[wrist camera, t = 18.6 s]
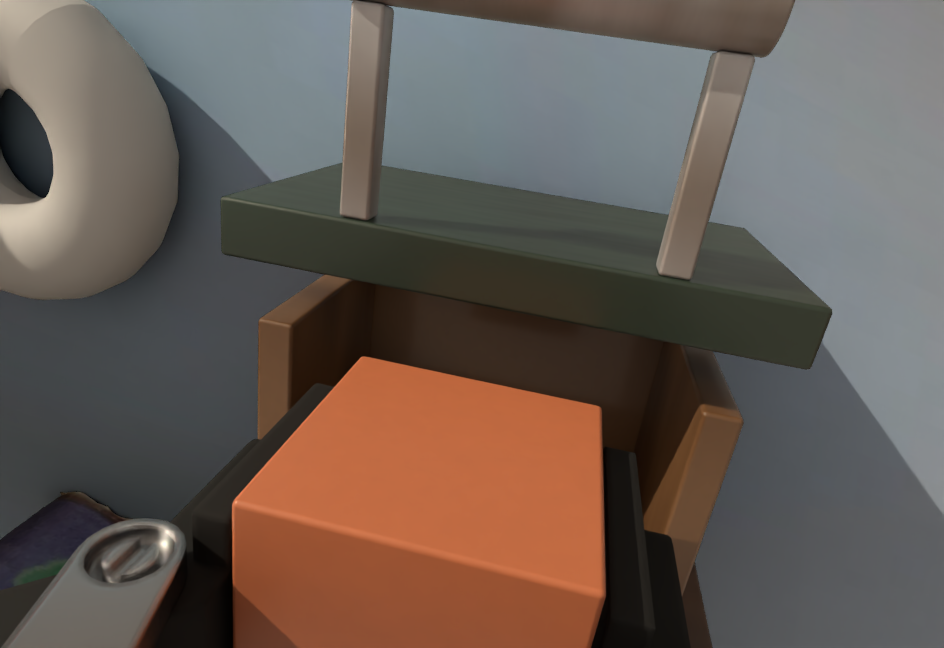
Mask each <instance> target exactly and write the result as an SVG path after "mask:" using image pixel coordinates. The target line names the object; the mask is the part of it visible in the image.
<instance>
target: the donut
mask: <svg viewBox="0 0 944 648" xmlns="http://www.w3.org/2000/svg"><path fill="white" fill-rule="evenodd" d="M7 89H12V90H13V91H15V92H16V93H18V95H19V96H20V97H21V98H22V99H23V100H24V101H25V102H26V103H27V104H28V105H29V106H30V107H31V108H32V109H33V110H34V112H35V114H36V116H37V117H38V119H39V121H40V122H41V124H42V126H43V128H44V129H45V131H46V134H47V137H48V140H49V143H50V147H51V150H52V153H53V171H54V176H53V179H52V183H51V187H50V191H49V193H48V195H47V196H46V197H45V198H41V197H39V196H37V195H35V194H34V193H32V192H31V191H29V190H27V189H26V188H25V187H24V186H23V184H22V183H21V182H20V181H19V180H18V179H17V178H16V177H15V176H14V174H13V173H12V171H11V169H10V168H9V166H8V165H7V163H6V161H5V160H4V157H3V154H2V151H1V148H0V290H3V291H6V292H9V293H12V294H16V295H19V296H22V297H26V298H31V299H37V300H53V299H79V298H85V297H90V296H93V295H95V294H97V293H100V292H102V291H104V290H106V289H108V288H111V287H113V286H115V285H117V284H120V283H122V282H124V281H126V280H127V279H129V278H130V277H132V276H133V275H135V274H136V273H137V271H138V270H139V269H140V268H141V267H142V266H143V265H144V264H145V263H146V262H147V260H148V259H149V258H150V257H151V256H152V255H153V254H154V253H155V252H156V250H157V249H158V248H159V247H160V246H161V243H162V241H163V239H164V236H165V233H166V231H167V228H168V225H169V223H170V220H171V217H172V215H173V212H174V209H175V206H176V204H177V201H178V172H179V153H178V149H177V145H176V141H175V137H174V133H173V128H172V124H171V120H170V116H169V112H168V108H167V105H166V103H165V101H164V99H163V97H162V95H161V94H160V92H159V90H158V88H157V86H156V84H155V82H154V80H153V78H152V76H151V74H150V73H149V71H148V69H147V67H146V65H145V63H144V61H143V59H142V58H141V57H140V55H139V54H138V53H137V52H136V51H135V50H134V49H133V48H132V47H131V45H130V44H129V43H128V42H127V41H126V40H125V39H124V38H123V37H122V35H121V34H120V33H119V32H118V31H117V30H116V29H115V28H114V26H113V25H112V24H111V23H110V22H109V21H108V20H107V19H106V18H105V17H104V15H103V14H102V13H101V12H100V11H99V10H98V9H96V8H95V7H93V6H92V5H90V4H89V3H87V2H85V1H84V0H0V98H1V96H2V95H3V93H4V92H5V90H7Z"/></svg>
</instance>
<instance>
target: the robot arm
mask: <svg viewBox="0 0 944 648" xmlns="http://www.w3.org/2000/svg"><path fill="white" fill-rule="evenodd" d="M333 388H334V387H333V386H328V385H324V384H319V383H316V384H314V385H313V386H312V387H311V388H310V389H309V390H308V391H307V392H306V393H305V394H304V395H303V396H302V398H301V399H300V400H299V401H298V402H297V403H296V404H295V405H294V406H293V407H292V408H291V409H290V410H289V411H288V412H287V413H286V414H285V415H284V416H283V417H282V418H281V419H280V420H279V421H278V422H277V423H276V424H275V425H274V426H273V428H272V429H271V430H270V431H269V432H268V433H267V434H266V435H265V436H264V437H263V438H262V439H261V440H260V439H255V440H252V441H251V442H250V443H248V444H247V445H246V446H245V447H244V448H243V449H242V450H241V451H240V452H239V453H238V454H237V455H236V456H235V457H234V458H233V459H232V460H231V461H230V462H229V463H228V464H227V465H226V466H225V467H224V468H223V469H222V470H221V471H220V472H219V473H218V474H217V475H216V476H215V477H214V478H213V479H212V480H211V481H210V482H209V483H208V484H207V485H206V486H205V487H204V488H203V489H202V490H201V491H200V492H199V493H198V494H197V495H196V496H195V497H194V499H193V500H192V501H191V502H190V503H189V504H188V505H187V506H186V507H185V508H184V509H183V510H182V511H181V512H180V513H179V514H178V515H177V516H176V517H175V518H174V519H173V520H172V521H171V522H168V521H165V520H160V519H154V518H136V519H131V520H126V521H122V522H118V523H115V524H113V525H110V526H108V527H105V528H103V529H101V530H99V531H98V532H96V533H94V534H93V535H91V536H90V537H88V538H87V539H86V540H85V541H84V542H83V543H82V544H81V545H80V546H79V547H78V548H77V549H76V550H75V552H74V553H73V554H72V555H71V557H70V558H69V559H68V561H67V562H66V563H65V565H64V566H63V567H62V569H61V570H60V571H59V572H58V574H57V575H53V576H50V577H46V578H42V579H39V580H35V581H32V582H28V583H25V584H21V585H17V586H14V587H10V588H7V589H3V590H0V648H233V565H232V504H233V501H234V500H235V498H236V497H237V496H238V495H239V494H240V493H241V492H242V490H243V489H244V488H245V487H246V486H247V485H248V484H249V483H250V481H251V480H252V479H253V478H254V477H255V476H256V475H257V474H258V472H259V471H260V470H261V469H262V468H263V467H264V466H265V465H266V463H267V462H268V461H269V460H270V459H271V458H272V457H273V456H274V454H275V453H276V452H277V451H278V450H279V449H280V448H281V447H282V445H283V444H284V443H285V442H286V441H287V440H288V439H289V438H290V436H291V435H292V434H293V433H294V432H295V431H296V430H297V428H298V427H299V426H300V425H301V424H302V423H303V422H304V421H305V419H306V418H307V417H308V416H309V415H310V414H311V413H312V412H313V410H314V409H315V408H316V407H317V406H318V405H319V404H320V403H321V401H322V400H323V399H324V398H325V397H326V396H327V395H328V394H329V392H330V391H331V390H332V389H333ZM603 482H604V526H605V571H606V598H605V601H604V605H603V608H602V612H601V615H600V618H599V622H598V625H597V629H596V632H595V636H594V639H593V642H592V646H591V648H691V646H690V640H689V634H688V629H687V623H686V617H685V611H684V605H683V600H682V594H681V588H680V582H679V576H678V571H677V565H676V559H675V553H674V547H673V543H672V539H671V537H670V536H669V535H665V534H661V533H656V532H652V531H648V530H644V522H643V514H642V505H641V496H640V487H639V478H638V469H637V460H636V454H635V453H632V452H628V451H623V450H619V449H614V448H610V447H604V449H603Z"/></svg>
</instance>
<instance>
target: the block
mask: <svg viewBox="0 0 944 648" xmlns="http://www.w3.org/2000/svg"><path fill="white" fill-rule="evenodd" d="M232 565H233V648H591V646H592V642H593V639H594V636H595V632H596V629H597V625H598V622H599V618H600V615H601V612H602V608H603V605H604V601H605V598H606V571H605V526H604V482H603V438H602V410H601V407H599V406H596V405H591V404H587V403H582V402H577V401H572V400H568V399H563V398H558V397H554V396H549V395H544V394H539V393H535V392H530V391H525V390H521V389H516V388H511V387H507V386H502V385H497V384H492V383H488V382H483V381H478V380H474V379H469V378H464V377H459V376H455V375H450V374H445V373H441V372H436V371H431V370H427V369H422V368H417V367H412V366H408V365H403V364H398V363H394V362H389V361H384V360H379V359H375V358H370V357H365V356H364V357H361V358H360V359H359V360H358V361H357V362H356V363H355V364H354V365H353V367H352V368H351V369H350V370H349V371H348V372H347V373H346V374H345V376H344V377H343V378H342V379H341V380H340V381H339V382H338V383H337V385H336V386H335V387H334V388H333V389H332V390H331V391H330V392H329V394H328V395H327V396H326V397H325V398H324V399H323V400H322V401H321V403H320V404H319V405H318V406H317V407H316V408H315V409H314V410H313V412H312V413H311V414H310V415H309V416H308V417H307V418H306V419H305V421H304V422H303V423H302V424H301V425H300V426H299V427H298V428H297V430H296V431H295V432H294V433H293V434H292V435H291V436H290V438H289V439H288V440H287V441H286V442H285V443H284V444H283V445H282V447H281V448H280V449H279V450H278V451H277V452H276V453H275V454H274V456H273V457H272V458H271V459H270V460H269V461H268V462H267V463H266V465H265V466H264V467H263V468H262V469H261V470H260V471H259V472H258V474H257V475H256V476H255V477H254V478H253V479H252V480H251V481H250V483H249V484H248V485H247V486H246V487H245V488H244V489H243V490H242V492H241V493H240V494H239V495H238V496H237V497H236V498H235V500H234V501H233V504H232Z"/></svg>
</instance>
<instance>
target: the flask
mask: <svg viewBox="0 0 944 648" xmlns="http://www.w3.org/2000/svg"><path fill="white" fill-rule="evenodd" d="M60 493H61V496H60V497H58V498H57V499H56V500H54V501H53V502H51V503H50V504H48V505H46V506H45V507H43V508H42V509H41V510H40V511H38V512H37V513H35V514H34V515H32V516H31V517H30V518H29V519H27V520H26V521H25V522H23V523H22V524H20V525H19V526H18V527H16V528H15V529H14V530H12V531H11V532H10V533H8V534H7V535H6V536H4V537H3V538H2V539H1V540H0V590H3V589H7V588H10V587H14V586H17V585H21V584H25V583H28V582H32V581H35V580H39V579H42V578H46V577H50V576H53V575H57V574H58V572H59V571H60V570H61V569H62V567H63V566H64V565H65V563H66V562H67V561H68V559H69V558H70V557H71V555H72V554H73V553H74V552H75V550H76V549H77V548H78V547H79V546H80V545H81V544H82V543H83V542H84V541H85V540H86V539H87V538H88V537H90V536H91V535H93V534H94V533H96V532H98V531H99V530H101V529H103V528H105V527H108V526H110V525H113V524H115V523H118V522H122V521H126V520H131V519H129V518H123V517H119V516H118V515H116V514H114V513H113V512H112V511H111V510H110V509H109V507H108V505H107V506H104V505H101V504H98V503H96V502H95V501H94V500H93V499H91V498H89V497H88V496H87V495H85V493H83V492H70V493H69V492H68V493H63V492H60ZM132 519H133V518H132Z"/></svg>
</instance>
